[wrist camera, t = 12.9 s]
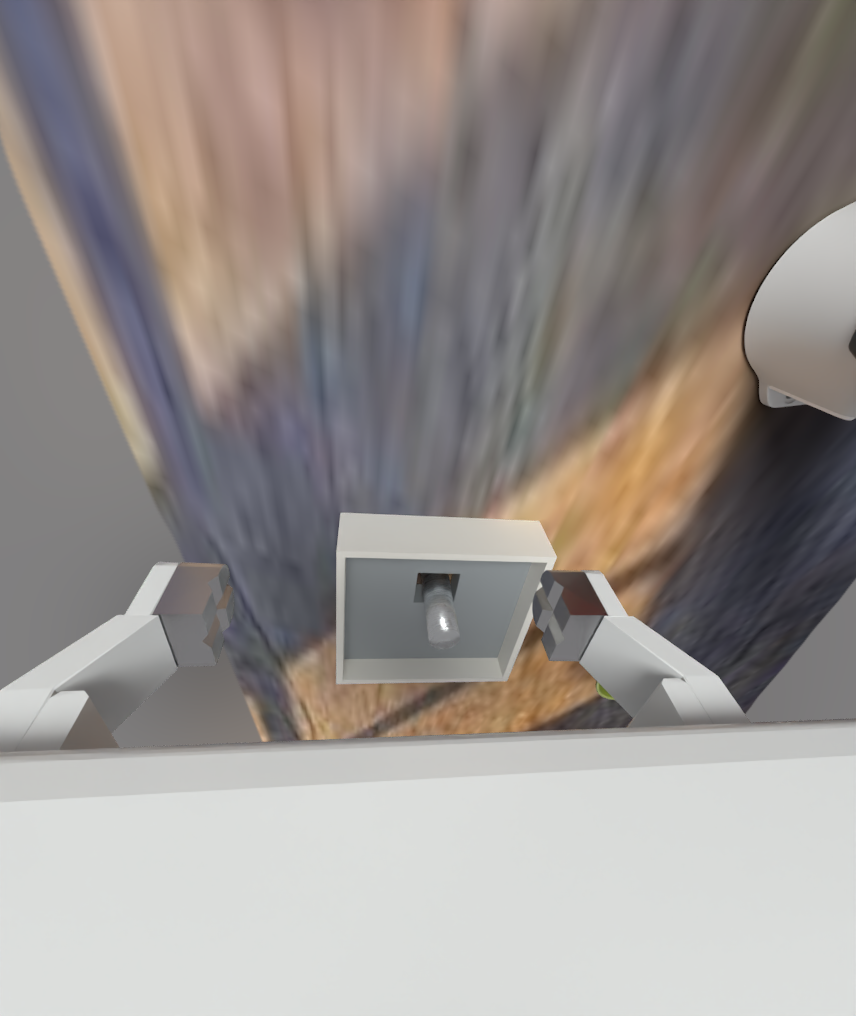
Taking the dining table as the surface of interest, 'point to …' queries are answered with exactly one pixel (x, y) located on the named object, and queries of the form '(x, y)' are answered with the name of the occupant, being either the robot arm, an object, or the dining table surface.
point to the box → (400, 602)
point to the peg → (440, 611)
